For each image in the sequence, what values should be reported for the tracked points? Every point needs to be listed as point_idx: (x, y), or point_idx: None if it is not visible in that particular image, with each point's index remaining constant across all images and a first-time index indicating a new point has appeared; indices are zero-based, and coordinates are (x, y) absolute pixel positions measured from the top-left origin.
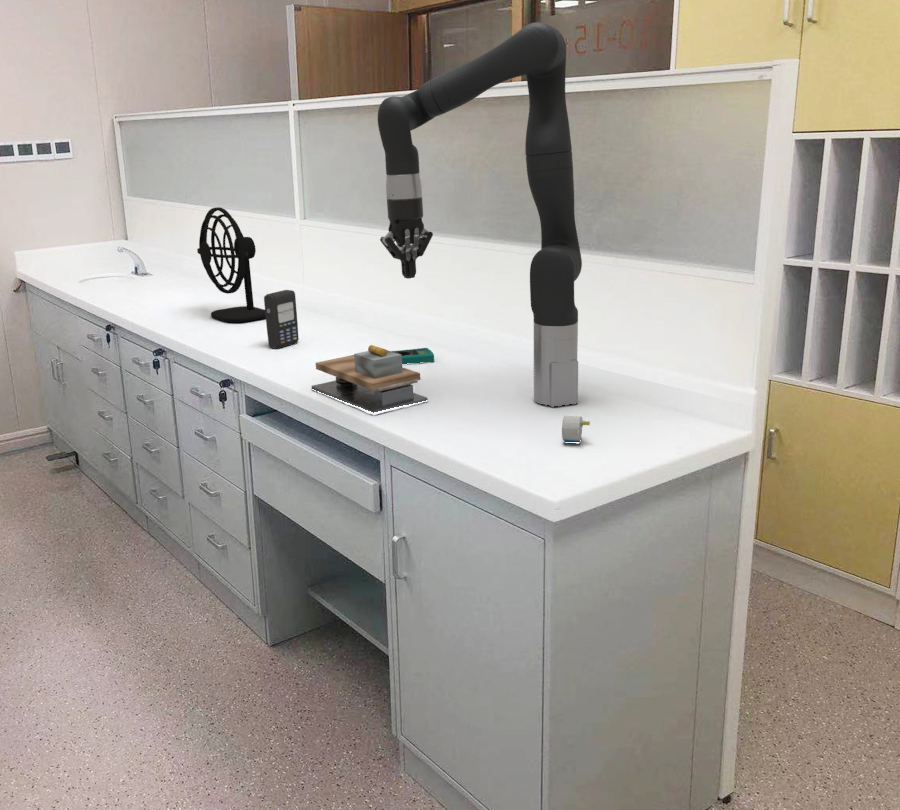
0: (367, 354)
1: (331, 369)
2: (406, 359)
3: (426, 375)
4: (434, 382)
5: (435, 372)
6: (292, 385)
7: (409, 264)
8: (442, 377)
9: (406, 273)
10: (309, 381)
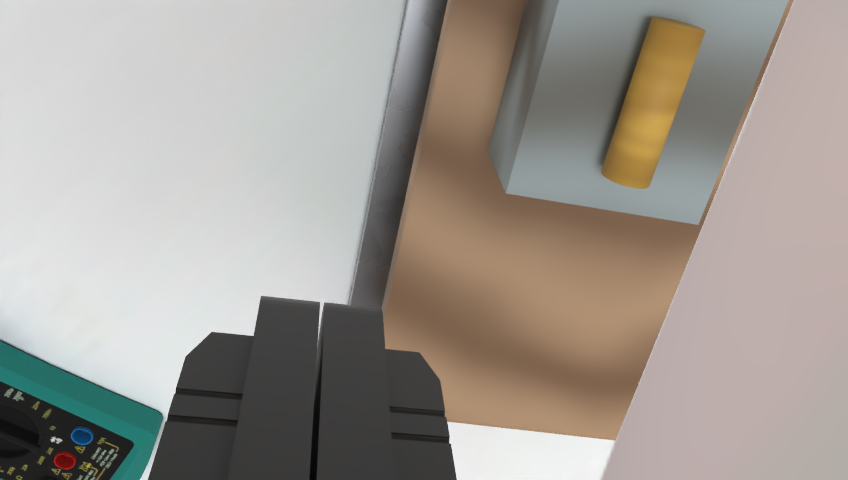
0: (677, 147)
1: (663, 312)
2: (30, 374)
3: (93, 155)
4: (152, 28)
5: (19, 156)
6: (580, 468)
7: (375, 477)
8: (53, 59)
9: (426, 381)
10: (504, 463)
